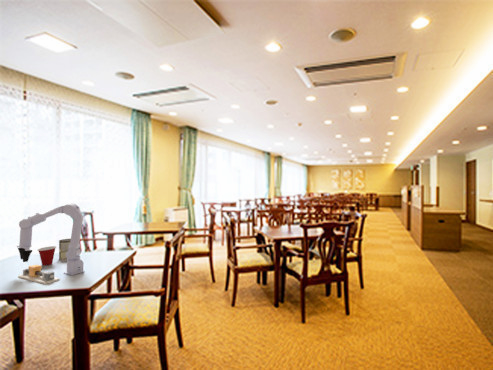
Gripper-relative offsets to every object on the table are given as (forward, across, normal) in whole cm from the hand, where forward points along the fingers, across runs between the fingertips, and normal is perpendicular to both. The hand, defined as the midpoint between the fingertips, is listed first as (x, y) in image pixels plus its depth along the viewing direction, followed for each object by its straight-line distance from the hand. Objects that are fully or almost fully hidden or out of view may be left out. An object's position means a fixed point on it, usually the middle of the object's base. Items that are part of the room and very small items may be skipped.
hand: (24, 260), depth 169 cm
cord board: (+9, +12, +5) cm, 16 cm away
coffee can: (+9, -30, +31) cm, 44 cm away
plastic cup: (+10, -20, +16) cm, 28 cm away
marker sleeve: (+8, +9, +4) cm, 12 cm away
